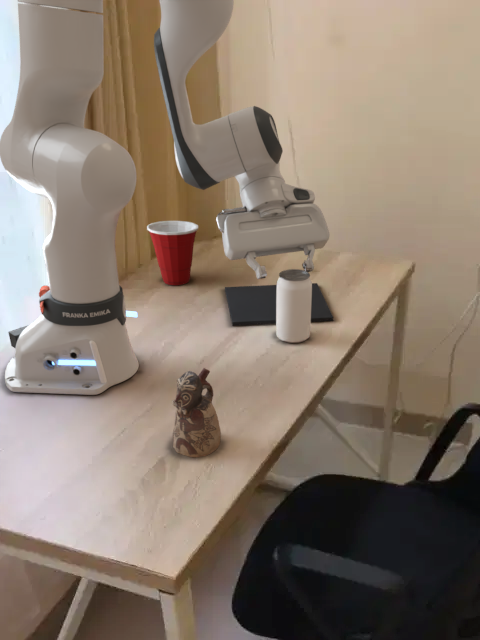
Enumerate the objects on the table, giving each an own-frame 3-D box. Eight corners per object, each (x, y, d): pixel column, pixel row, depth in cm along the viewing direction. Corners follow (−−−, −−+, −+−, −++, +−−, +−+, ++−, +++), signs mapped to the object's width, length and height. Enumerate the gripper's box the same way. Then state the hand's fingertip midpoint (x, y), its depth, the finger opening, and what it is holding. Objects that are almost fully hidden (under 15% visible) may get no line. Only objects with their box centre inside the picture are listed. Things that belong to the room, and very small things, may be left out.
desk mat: (232, 326, 145) (232, 322, 145) (224, 290, 159) (224, 286, 159) (333, 321, 148) (333, 317, 147) (317, 286, 162) (317, 282, 161)
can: (315, 340, 140) (318, 278, 133) (283, 346, 138) (284, 283, 131) (302, 327, 145) (304, 266, 138) (271, 332, 143) (271, 270, 136)
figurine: (166, 438, 113) (159, 366, 106) (209, 426, 116) (205, 356, 108) (184, 462, 108) (178, 388, 101) (228, 449, 111) (226, 377, 103)
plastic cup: (205, 272, 167) (202, 217, 160) (196, 290, 159) (193, 233, 152) (158, 270, 168) (153, 215, 161) (146, 288, 160) (140, 231, 152)
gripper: (217, 201, 133) (236, 273, 132) (321, 190, 139) (341, 259, 138) (210, 219, 139) (229, 288, 138) (310, 208, 145) (329, 274, 144)
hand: (286, 274), depth 138 cm, fingers open, 8 cm apart
